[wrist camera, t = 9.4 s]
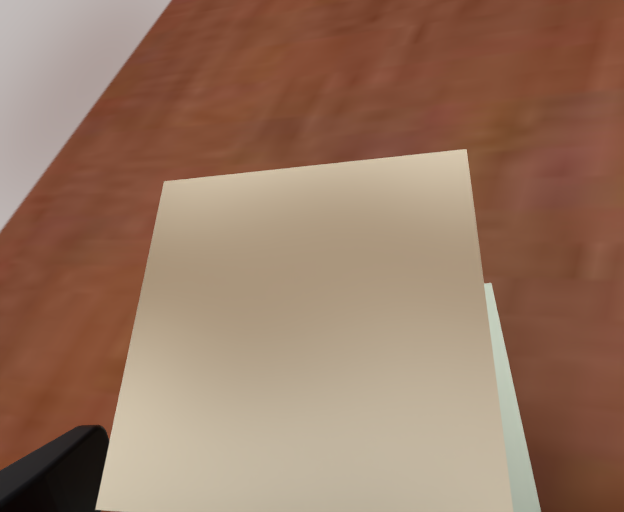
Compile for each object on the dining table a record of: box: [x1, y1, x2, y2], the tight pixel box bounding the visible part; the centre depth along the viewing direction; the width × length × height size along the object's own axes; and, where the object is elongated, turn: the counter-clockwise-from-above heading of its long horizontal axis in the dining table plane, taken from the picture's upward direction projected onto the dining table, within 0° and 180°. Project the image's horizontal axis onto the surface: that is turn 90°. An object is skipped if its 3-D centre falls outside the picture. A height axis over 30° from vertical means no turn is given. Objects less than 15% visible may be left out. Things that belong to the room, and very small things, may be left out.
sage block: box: [484, 283, 541, 512], centre depth 19 cm, size 10×10×3 cm
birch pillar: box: [95, 149, 513, 512], centre depth 12 cm, size 5×5×12 cm
